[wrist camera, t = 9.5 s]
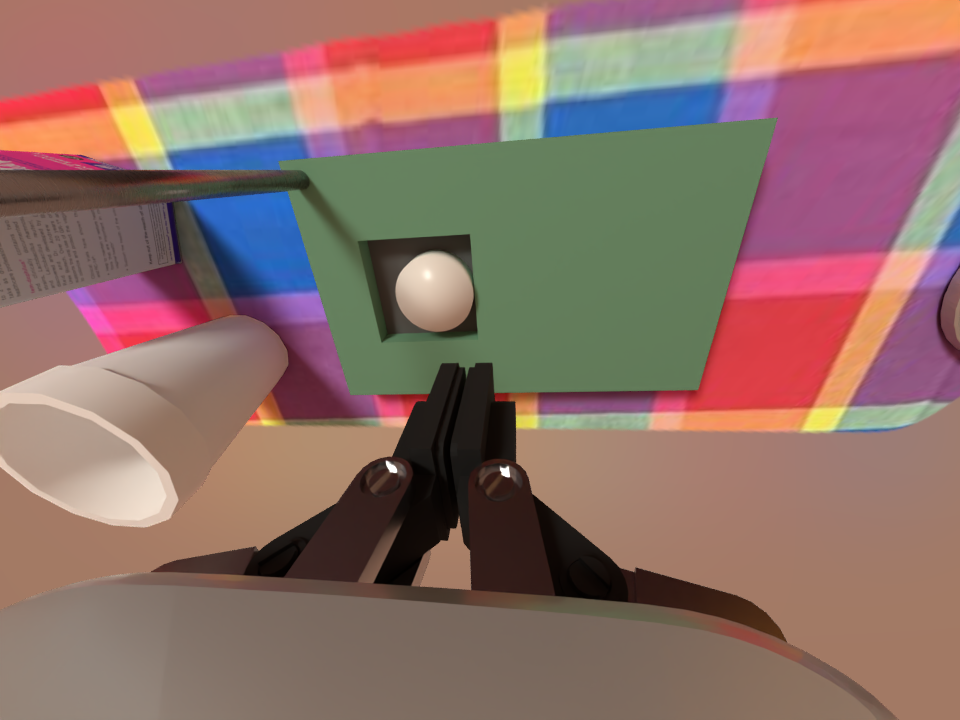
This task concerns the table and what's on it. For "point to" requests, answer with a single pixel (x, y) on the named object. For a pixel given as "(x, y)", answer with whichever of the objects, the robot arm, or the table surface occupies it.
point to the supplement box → (79, 239)
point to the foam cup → (139, 420)
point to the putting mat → (498, 248)
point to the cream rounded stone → (435, 290)
